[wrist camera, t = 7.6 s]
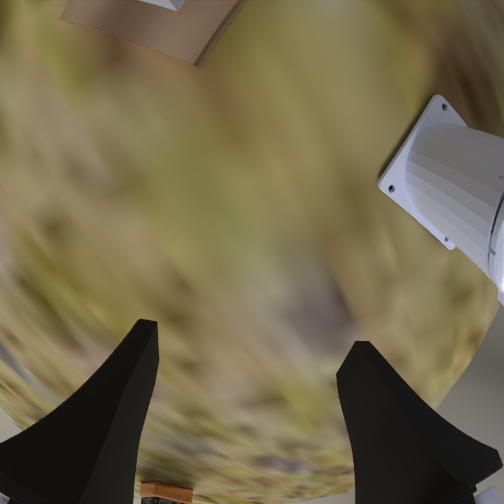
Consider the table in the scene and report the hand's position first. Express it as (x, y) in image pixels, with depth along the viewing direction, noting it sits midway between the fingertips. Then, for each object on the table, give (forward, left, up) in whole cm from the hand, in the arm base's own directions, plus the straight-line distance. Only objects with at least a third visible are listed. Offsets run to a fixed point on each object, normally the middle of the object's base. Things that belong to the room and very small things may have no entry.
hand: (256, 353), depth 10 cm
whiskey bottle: (-16, +68, -10) cm, 71 cm away
